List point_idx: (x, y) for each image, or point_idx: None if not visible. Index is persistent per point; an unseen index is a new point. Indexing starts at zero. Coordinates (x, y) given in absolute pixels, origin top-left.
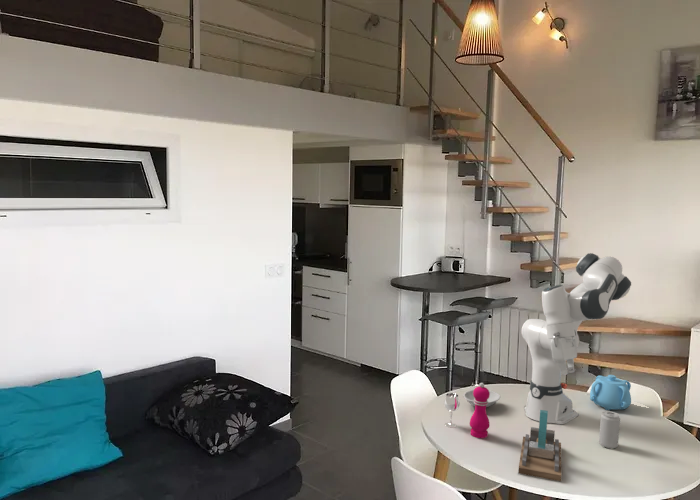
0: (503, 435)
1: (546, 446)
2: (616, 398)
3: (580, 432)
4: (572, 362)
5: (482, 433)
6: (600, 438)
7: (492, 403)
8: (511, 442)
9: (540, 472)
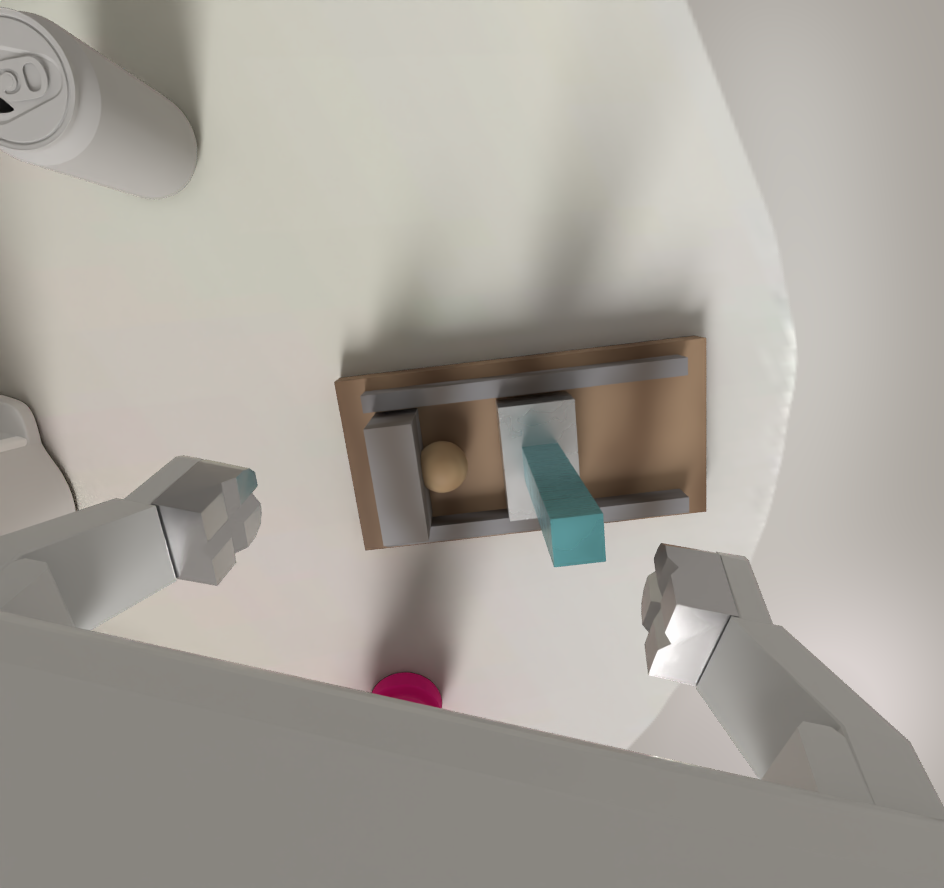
0: (349, 620)
1: (537, 439)
2: None
3: (69, 306)
4: (41, 565)
5: (430, 699)
6: (164, 185)
7: None
8: (405, 578)
9: (704, 424)
